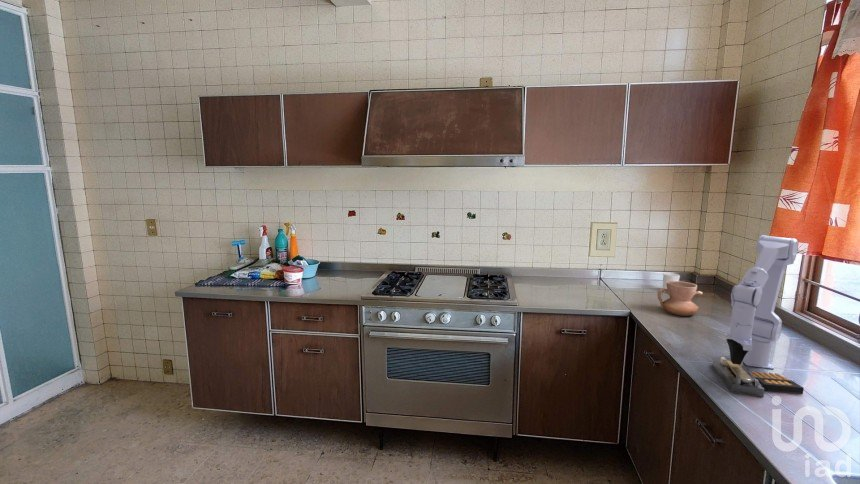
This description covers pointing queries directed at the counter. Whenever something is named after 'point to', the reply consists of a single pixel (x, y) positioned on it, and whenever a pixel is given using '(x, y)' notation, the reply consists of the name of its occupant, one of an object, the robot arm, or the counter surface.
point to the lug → (723, 361)
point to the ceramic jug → (679, 298)
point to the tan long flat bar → (739, 372)
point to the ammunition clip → (777, 382)
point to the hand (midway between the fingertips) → (735, 363)
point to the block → (738, 380)
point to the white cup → (669, 278)
